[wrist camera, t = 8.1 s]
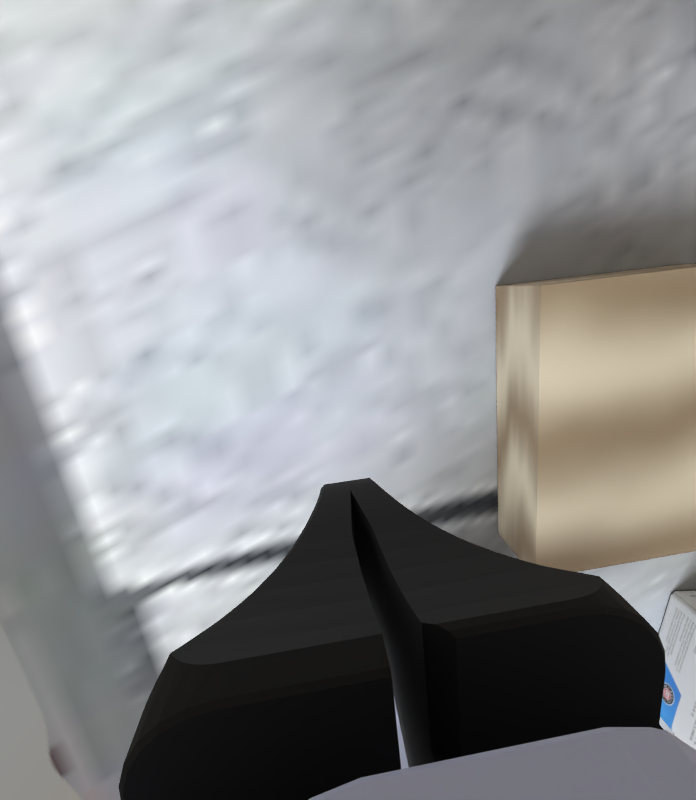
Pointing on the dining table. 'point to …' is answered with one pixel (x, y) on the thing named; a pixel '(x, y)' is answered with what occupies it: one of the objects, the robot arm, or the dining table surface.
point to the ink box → (680, 666)
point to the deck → (597, 417)
